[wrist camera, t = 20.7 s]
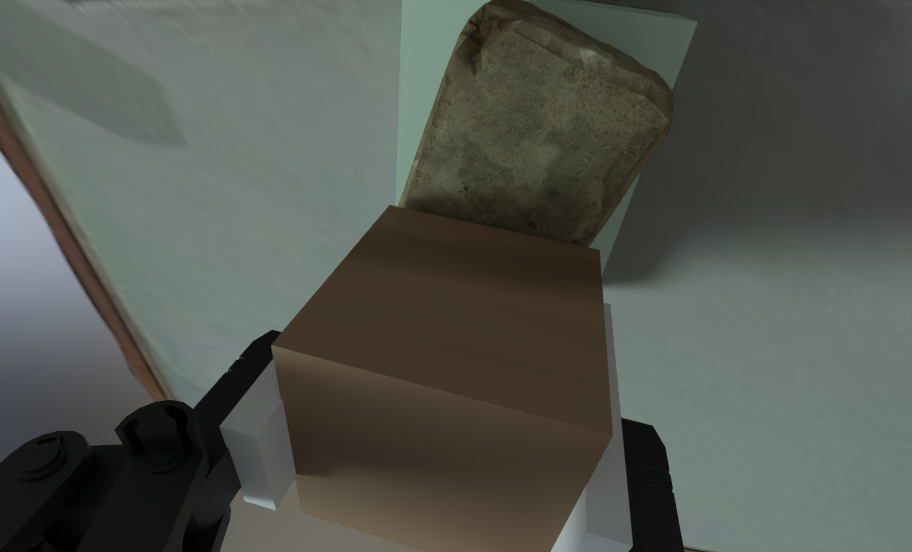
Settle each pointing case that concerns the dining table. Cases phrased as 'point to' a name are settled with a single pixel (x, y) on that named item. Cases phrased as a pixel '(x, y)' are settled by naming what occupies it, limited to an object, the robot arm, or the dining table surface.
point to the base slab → (628, 29)
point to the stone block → (536, 127)
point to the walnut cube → (449, 385)
